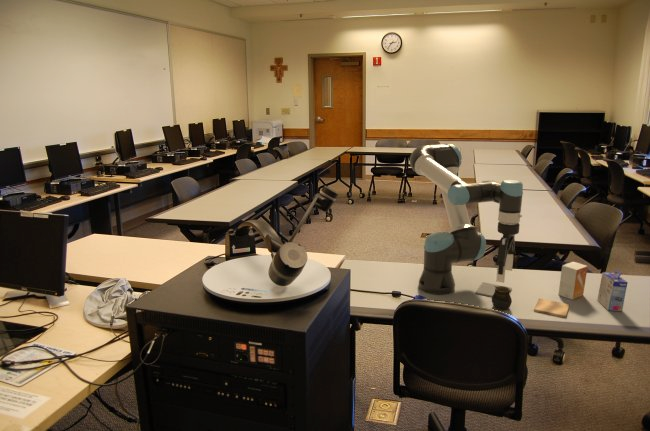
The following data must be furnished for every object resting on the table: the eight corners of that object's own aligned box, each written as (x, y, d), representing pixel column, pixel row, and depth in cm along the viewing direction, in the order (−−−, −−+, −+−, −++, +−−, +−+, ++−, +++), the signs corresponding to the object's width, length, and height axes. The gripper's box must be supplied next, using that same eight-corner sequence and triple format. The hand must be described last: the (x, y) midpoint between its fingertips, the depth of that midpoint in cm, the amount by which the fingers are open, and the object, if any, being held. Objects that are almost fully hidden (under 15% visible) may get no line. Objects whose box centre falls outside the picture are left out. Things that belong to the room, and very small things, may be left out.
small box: (572, 300, 192) (576, 270, 189) (557, 294, 197) (561, 265, 194) (583, 295, 197) (588, 265, 193) (569, 290, 202) (572, 261, 198)
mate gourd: (515, 308, 186) (517, 284, 183) (502, 314, 182) (504, 290, 179) (499, 301, 192) (501, 278, 189) (486, 306, 188) (488, 283, 185)
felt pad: (475, 293, 200) (475, 292, 200) (482, 283, 210) (482, 282, 209) (505, 299, 194) (505, 298, 193) (511, 289, 203) (511, 287, 203)
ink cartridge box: (623, 311, 182) (629, 276, 178) (608, 311, 183) (613, 276, 179) (611, 300, 192) (616, 266, 188) (596, 300, 192) (601, 266, 189)
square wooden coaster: (534, 310, 184) (534, 309, 184) (538, 300, 193) (538, 298, 193) (565, 317, 178) (565, 315, 178) (569, 306, 187) (569, 304, 187)
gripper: (512, 232, 166) (507, 289, 171) (525, 215, 186) (521, 267, 191) (490, 229, 169) (486, 285, 175) (505, 213, 190) (501, 263, 195)
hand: (504, 275), depth 183 cm, fingers open, 13 cm apart
